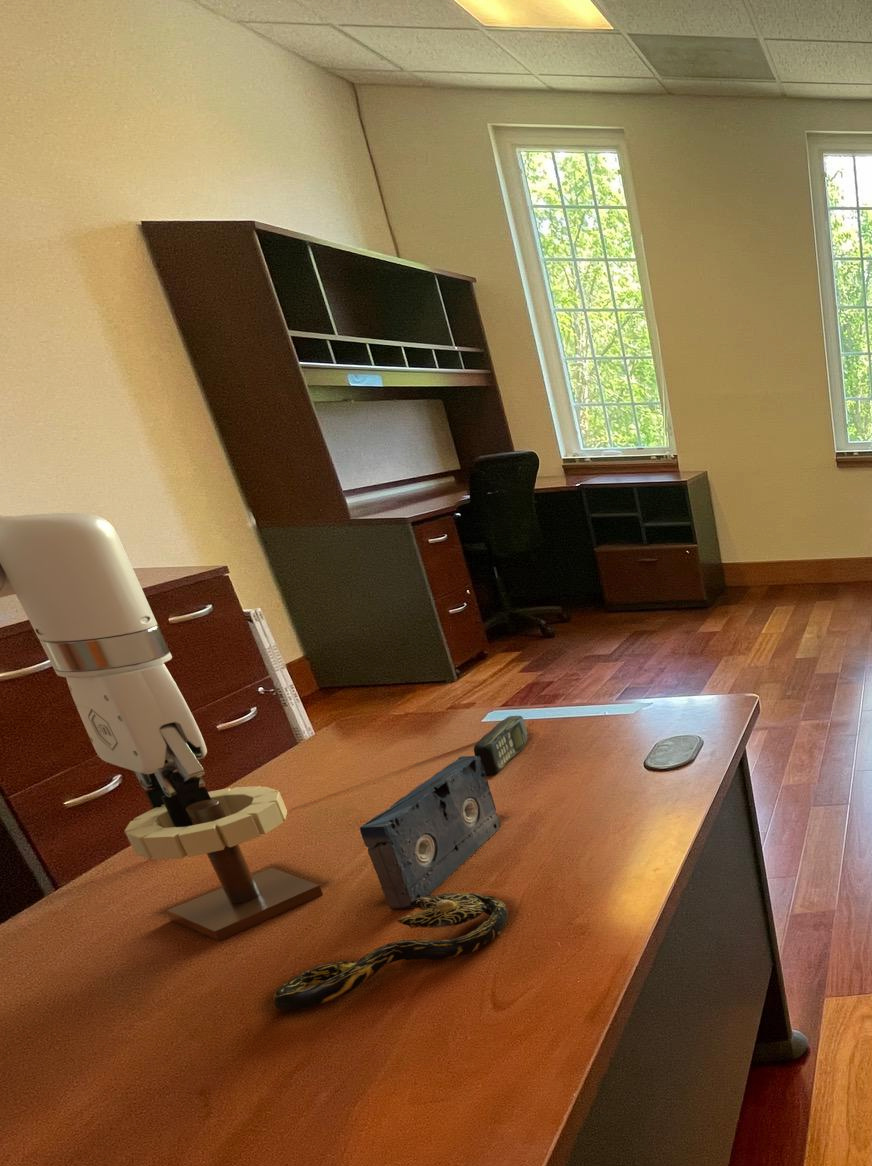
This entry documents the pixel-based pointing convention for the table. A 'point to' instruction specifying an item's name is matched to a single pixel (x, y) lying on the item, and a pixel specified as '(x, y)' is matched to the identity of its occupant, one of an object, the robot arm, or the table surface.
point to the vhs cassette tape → (431, 831)
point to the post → (238, 889)
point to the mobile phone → (501, 744)
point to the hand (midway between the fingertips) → (190, 821)
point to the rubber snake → (400, 948)
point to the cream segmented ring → (208, 825)
